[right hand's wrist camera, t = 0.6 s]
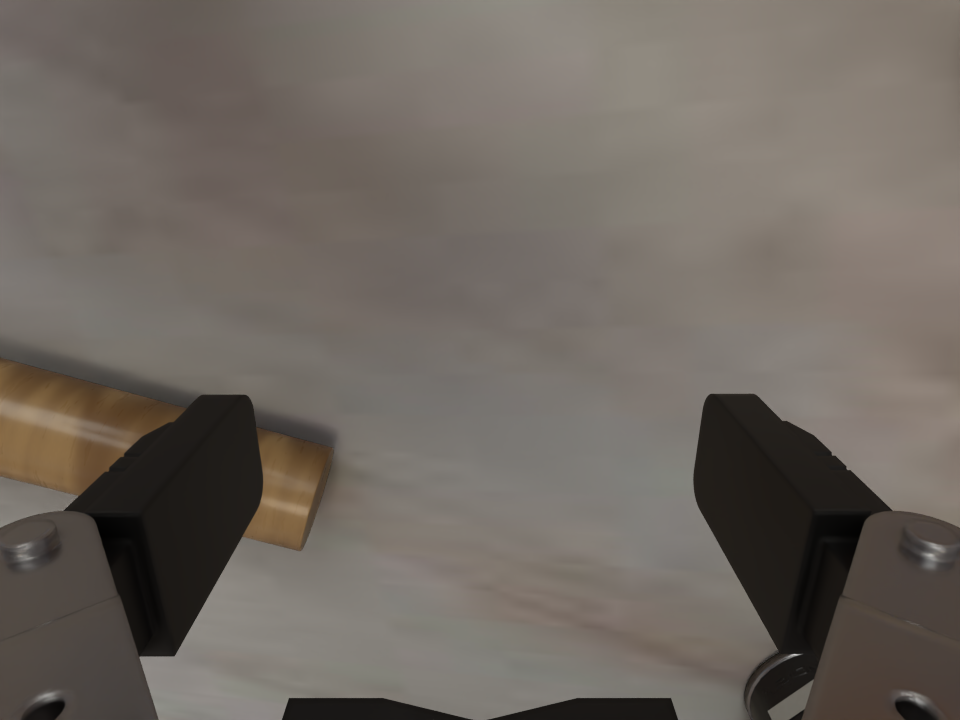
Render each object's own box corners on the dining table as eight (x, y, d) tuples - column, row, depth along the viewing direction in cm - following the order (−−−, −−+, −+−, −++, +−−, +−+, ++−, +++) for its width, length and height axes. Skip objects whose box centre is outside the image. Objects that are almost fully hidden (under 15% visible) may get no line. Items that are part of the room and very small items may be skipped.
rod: (340, 430, 39) (316, 485, 33) (319, 509, 41) (293, 574, 35) (-87, 312, 36) (-194, 350, 30) (-86, 404, 38) (-186, 456, 32)
